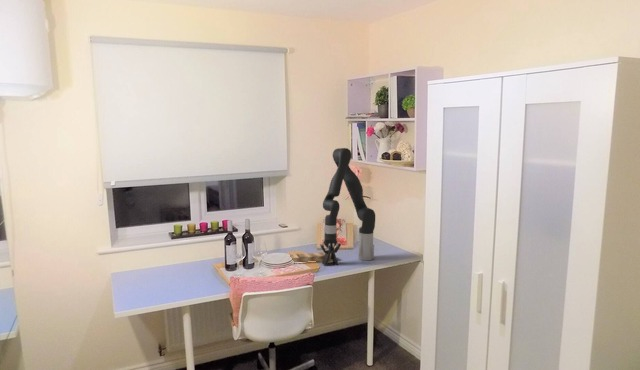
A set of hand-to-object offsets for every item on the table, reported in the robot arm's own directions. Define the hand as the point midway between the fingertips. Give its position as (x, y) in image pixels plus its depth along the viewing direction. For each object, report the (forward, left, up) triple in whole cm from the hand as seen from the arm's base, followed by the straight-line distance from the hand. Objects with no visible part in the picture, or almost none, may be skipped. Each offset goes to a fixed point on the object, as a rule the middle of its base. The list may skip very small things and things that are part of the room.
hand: (330, 259), depth 276 cm
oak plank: (+9, -9, -3) cm, 13 cm away
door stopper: (0, 0, -3) cm, 3 cm away
